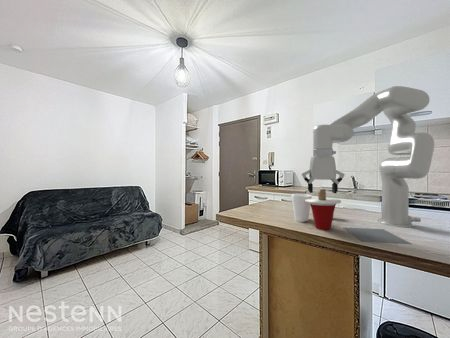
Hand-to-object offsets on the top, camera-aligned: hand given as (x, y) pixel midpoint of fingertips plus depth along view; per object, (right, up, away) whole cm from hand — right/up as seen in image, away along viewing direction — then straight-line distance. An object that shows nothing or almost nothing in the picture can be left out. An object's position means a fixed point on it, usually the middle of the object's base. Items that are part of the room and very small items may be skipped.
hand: (322, 192), depth 85 cm
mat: (+16, -16, -9) cm, 24 cm away
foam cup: (-4, -16, +14) cm, 22 cm away
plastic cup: (0, -16, 0) cm, 16 cm away
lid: (0, -4, 0) cm, 4 cm away
